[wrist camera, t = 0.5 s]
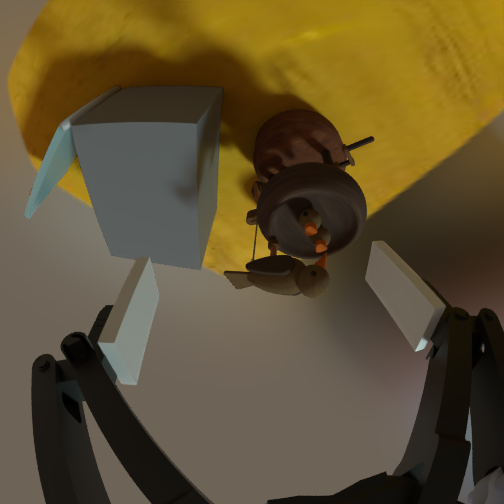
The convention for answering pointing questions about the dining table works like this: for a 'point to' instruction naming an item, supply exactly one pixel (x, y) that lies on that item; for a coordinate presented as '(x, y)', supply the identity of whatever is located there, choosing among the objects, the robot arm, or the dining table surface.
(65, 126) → the side door
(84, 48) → the dining table surface
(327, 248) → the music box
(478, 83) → the dining table surface
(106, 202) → the case
